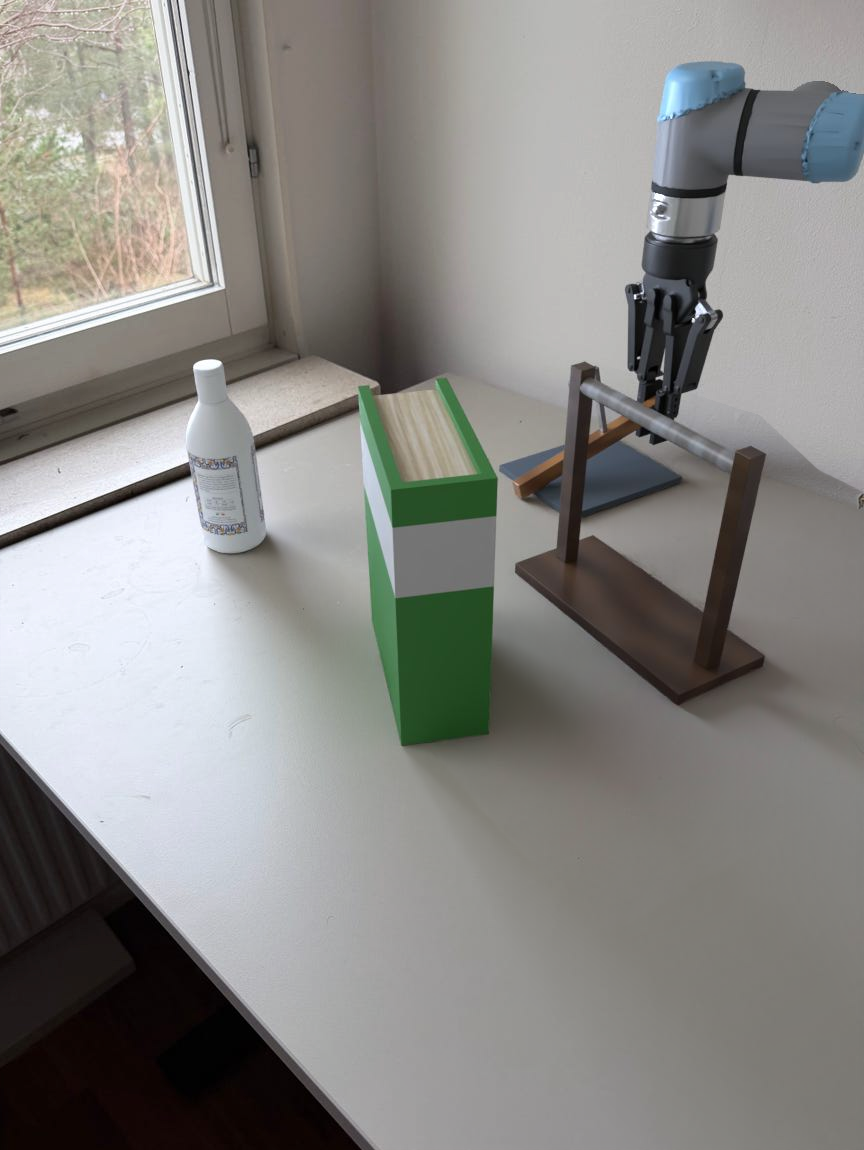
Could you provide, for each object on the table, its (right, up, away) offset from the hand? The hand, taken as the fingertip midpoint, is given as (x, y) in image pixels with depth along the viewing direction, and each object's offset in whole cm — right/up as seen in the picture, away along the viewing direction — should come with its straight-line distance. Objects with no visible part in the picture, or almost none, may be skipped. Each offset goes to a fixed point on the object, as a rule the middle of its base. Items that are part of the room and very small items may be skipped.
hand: (653, 437), depth 117 cm
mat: (-8, -5, -2) cm, 10 cm away
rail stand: (-9, -22, -24) cm, 34 cm away
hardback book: (-29, -28, -29) cm, 49 cm away
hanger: (-8, -2, -4) cm, 9 cm away
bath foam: (-49, -13, -9) cm, 52 cm away
